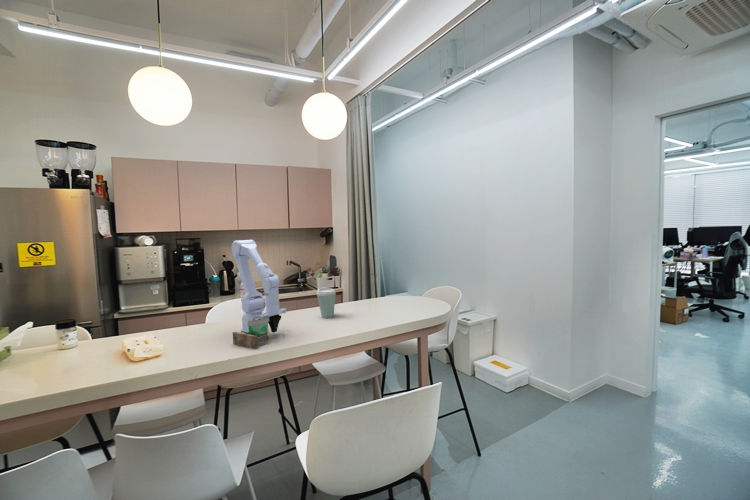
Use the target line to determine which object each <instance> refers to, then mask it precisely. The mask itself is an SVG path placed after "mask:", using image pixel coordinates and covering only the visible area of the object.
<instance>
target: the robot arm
mask: <svg viewBox="0 0 750 500" xmlns="http://www.w3.org/2000/svg"><path fill="white" fill-rule="evenodd" d="M230 249H231V252H232V256H233V259H234V260H235V263H236V266H237V269H238V270H237V271H238V274H239V278H240V280H241V281H240V282H241V284H242V286H243V287H242V288H243V291H244V295H243V296H242V297H241V299H240V300H241V309H242V311H243V312H244V313H243V314H242V316H241V324H242V329H241V332H244V333H246V332H249V327H248V326H247V325H248V321H253V320H254V319H255V318H258V317H259V319H264V318H266V317H269V320H270V321H269V322H268V327H269V328H270V331H271V333H277V332H278V328H279V324H280V321H281V320H282V315H281V314H287V308H286V307H285V308H283V307H282V308H280V295H279V288H280V287H281V283H282V282H281V278H280V276H279V275H277V274H275V273H273V271H272V270H271V268H270V266H269V264H268V263H264V262H263V260H262V257H261V256H260V254H259V252H258V250H257V249H258V246H257V243H256V241H255V240H254V239H245V240H243V239H241V240H234V241H233V242H232V243H231V248H230ZM249 259H250V260H251V261H252V263H253V265H255V266H256V269H255V271H256V273H257V275H258V276H259V278H260V279H261V281H262V283H261V285H262V288H263V293H264V294H265V298H264V296H263V293H262V292H260V291H258V290H257V288H256V287H257V286H256V285H255V281H254V276H253V275H252V270H251V267H250V263H249ZM265 309H266V310H265ZM264 310H265V311H266V312H264V313H263V311H264ZM261 314H262V315H261Z"/></svg>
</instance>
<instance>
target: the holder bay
mask: <svg viewBox="0 0 750 500" xmlns="http://www.w3.org/2000/svg"><path fill="white" fill-rule="evenodd" d="M232 344H233V345H236V346H240V347H245V348H251V349H254V350H257V349H259V347H261V346H263V345H266V344H268V339H267V335H262V336H260V337H258V336H256V335H250V334H249V332H244V333H243V332H238V331H234V332H232Z"/></svg>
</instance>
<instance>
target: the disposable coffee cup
mask: <svg viewBox="0 0 750 500" xmlns="http://www.w3.org/2000/svg"><path fill="white" fill-rule="evenodd" d="M336 293H337V292H336V290H335V289H334V288H330V287H329V288H328V287H321V288H319V289H317V290H316V294H315V295H316V296H317V300H318V301H317V302H318V305H319V310H320V315H321V318H324V319H328V318H333V317H334V315H335V304H336V295H337V294H336Z"/></svg>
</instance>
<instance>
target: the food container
mask: <svg viewBox="0 0 750 500" xmlns="http://www.w3.org/2000/svg"><path fill="white" fill-rule="evenodd" d="M262 314H263V313H262ZM262 314H261V315H262ZM269 321H270V320H269V317H266V318H264V319H259V317H258V318H255V319H254V320H253V321H248V325H247V326H248V327H249V334H250V335H256V336H258V337H260V336H262V335H267V340H268V339H269V335H268V334H269V323H268V322H269Z"/></svg>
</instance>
